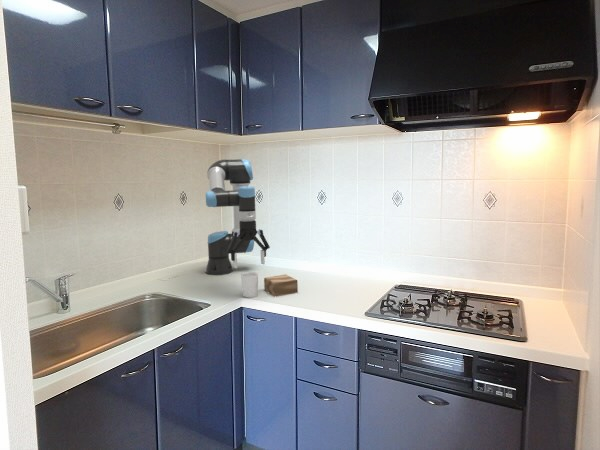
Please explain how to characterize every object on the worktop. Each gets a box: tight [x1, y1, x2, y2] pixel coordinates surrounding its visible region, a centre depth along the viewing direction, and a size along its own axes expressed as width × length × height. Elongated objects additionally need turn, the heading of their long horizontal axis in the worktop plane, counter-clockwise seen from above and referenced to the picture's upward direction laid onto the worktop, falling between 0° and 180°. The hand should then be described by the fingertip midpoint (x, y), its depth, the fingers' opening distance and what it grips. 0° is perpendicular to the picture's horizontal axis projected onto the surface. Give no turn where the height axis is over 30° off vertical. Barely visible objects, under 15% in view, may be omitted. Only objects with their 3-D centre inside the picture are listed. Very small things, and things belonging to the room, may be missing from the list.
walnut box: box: [263, 274, 299, 297], centre depth 186 cm, size 12×12×6 cm
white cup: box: [240, 271, 259, 298], centre depth 181 cm, size 8×8×10 cm
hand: (249, 265), depth 179 cm, fingers open, 13 cm apart
